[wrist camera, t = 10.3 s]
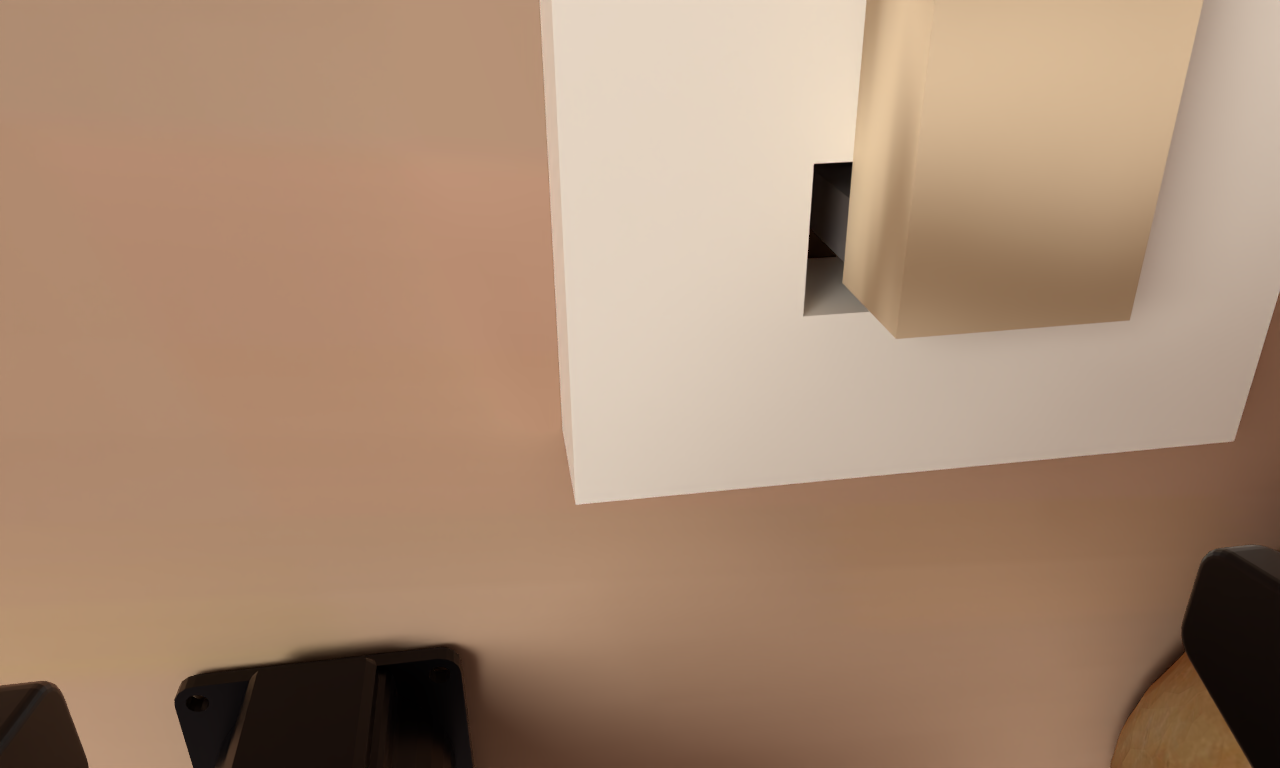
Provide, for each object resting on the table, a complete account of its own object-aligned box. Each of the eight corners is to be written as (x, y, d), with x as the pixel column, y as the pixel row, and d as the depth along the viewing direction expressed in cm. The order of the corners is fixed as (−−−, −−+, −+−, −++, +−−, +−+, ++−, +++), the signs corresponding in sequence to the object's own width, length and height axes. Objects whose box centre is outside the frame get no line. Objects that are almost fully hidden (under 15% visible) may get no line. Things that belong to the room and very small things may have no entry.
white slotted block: (1146, 378, 23) (1234, 441, 21) (562, 429, 22) (575, 504, 19) (1263, -85, 19) (1392, -81, 16) (535, -73, 17) (547, -67, 14)
